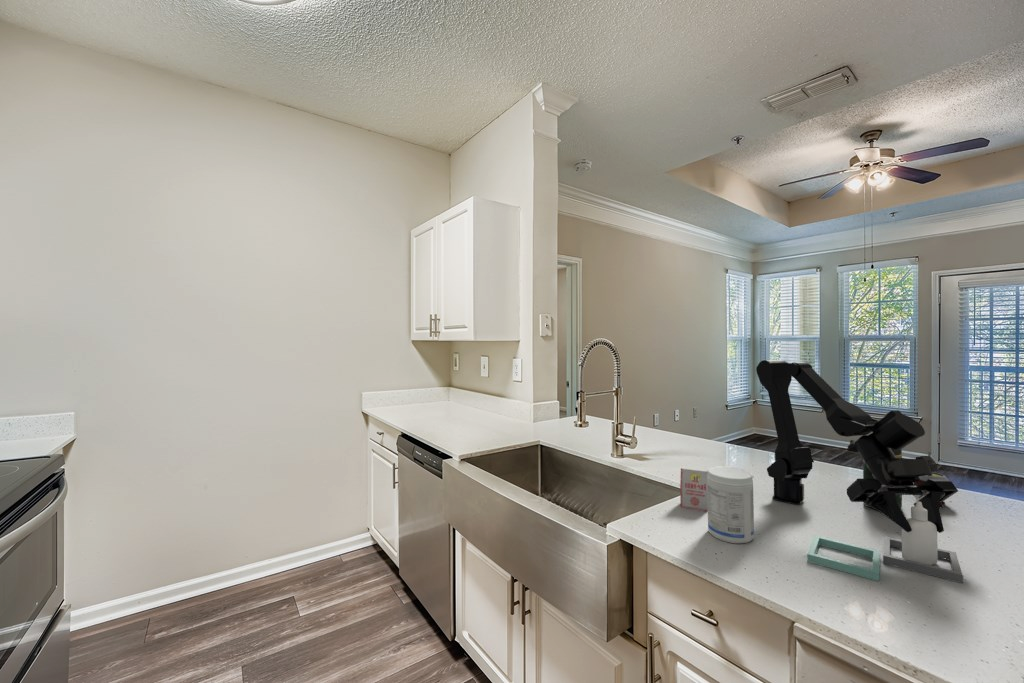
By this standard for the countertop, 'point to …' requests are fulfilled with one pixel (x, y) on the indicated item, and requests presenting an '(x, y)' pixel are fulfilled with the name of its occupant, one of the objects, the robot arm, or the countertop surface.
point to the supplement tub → (730, 504)
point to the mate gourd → (933, 476)
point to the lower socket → (842, 565)
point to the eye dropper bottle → (920, 538)
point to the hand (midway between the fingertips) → (925, 531)
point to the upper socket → (921, 567)
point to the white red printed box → (693, 489)
